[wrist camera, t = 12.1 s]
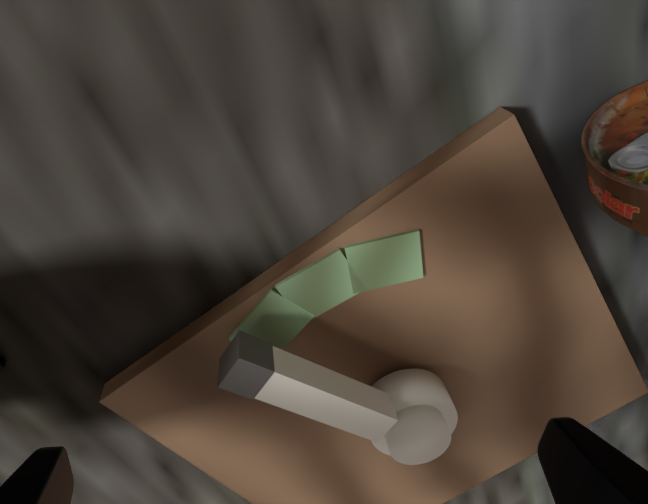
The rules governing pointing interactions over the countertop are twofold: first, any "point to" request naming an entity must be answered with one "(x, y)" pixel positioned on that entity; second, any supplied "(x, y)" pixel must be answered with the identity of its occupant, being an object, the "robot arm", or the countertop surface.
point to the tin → (620, 157)
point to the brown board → (402, 335)
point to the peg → (346, 398)
